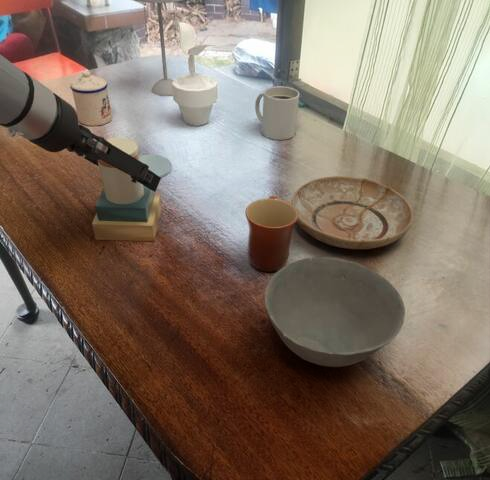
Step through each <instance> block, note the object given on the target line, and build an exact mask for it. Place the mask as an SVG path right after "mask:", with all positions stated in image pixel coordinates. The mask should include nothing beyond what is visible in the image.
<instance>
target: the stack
mask: <svg viewBox="0 0 490 480" xmlns="http://www.w3.org/2000/svg"><path fill="white" fill-rule="evenodd" d="M144 191H145V194H144V196H143V198H142V199H140V200H139V201H137V202H134V203H131V204H114V203H111V202H109V201H108V200H107V199H106V197H105V193H104V189H103V188H102V190H101V192H100V194H99V197H98V199H97V201H96V204H95V206H94V208H95V212H96V213H95V215H94V218H93V220H92V223H91V227H92V230H93V234H94V238H95V240H97V241H127V242H128V241H129V242H130V241H131V242H155V241H156V237H157V232H158V229H159V225H160V220H161V215H162V213H163V205H162V196H161V193H155V192H154V191H152V190H150V189H149V188H147V187H145V186H144Z"/></svg>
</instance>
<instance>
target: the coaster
mask: <svg viewBox="0 0 490 480" xmlns="http://www.w3.org/2000/svg"><path fill="white" fill-rule="evenodd" d="M139 155H140V162H142V163H144V164H147V166H149V170H150V171H152V172H153V173H155V174H156V175H158V176H159V177H161V179H162V178H164V177H166V176H167V175H169V174H170V173H171V172H172V171H173V170H172V169H173V164H172V162H171V160H170V159H169V158H167V157H165V156H163V155H159V154H139Z"/></svg>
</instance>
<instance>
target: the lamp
mask: <svg viewBox="0 0 490 480" xmlns="http://www.w3.org/2000/svg"><path fill="white" fill-rule="evenodd" d="M133 1H135V2H138V3H139V2H140V3H143V5H145V3H147V4H156V5H157V6H156V8H157V18H158V19H157V20H158V29H159V30H158V31H159V39H160V41H159V42H160V50H161V62H162V73H163V78H160V79H158V80H157V81H155V82H154V83H153V85H152V86H151V88H150V91H151V93H152V94H154V95H157V96H161V97H164V96H165V97H169V96H173V89H172V83H173V80H174V79H171V78H168V68H167V57H166V46H165V45H166V44H165V36H164V35H165V34H164V23H163V12H162V4H170V3H172V8H173V11H175V4H174V3H178V2H182V1H184V0H133ZM143 10H144V11H143V12H144V13H146V8H145V6H143ZM146 16H147V15H144V21H147V17H146ZM174 21H175V14H173V22H174ZM147 26H148V25H147V23H145V29H146V30H148V27H147ZM177 36H178V33H177V30H174V34H173V37H174V38H177ZM145 37H147V38H149V34H148V32H146V34H145Z"/></svg>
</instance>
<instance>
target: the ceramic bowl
mask: <svg viewBox="0 0 490 480" xmlns="http://www.w3.org/2000/svg"><path fill="white" fill-rule="evenodd" d="M290 204H291V205H293V206H294V207H295V208H296V209H297V211H298V219H297V221H296V223H297V224H298V226H299V227H300V228H301V229H302V230H303V231H304V232H305V233H307V234H308V235H309V236H311V237H312V238H314V239H316V240H318V241H320V242H322V243H324V244H327V245H330V246H332V247H333V246H334V247H337V248H340V249H341V248H342V249H349V250H371V249H376V248H380V247H381V248H382V247H384V246H388V245H390V244H392V243H394V242H396V241H398V240H399V239H400V238H402V237H403V236H404V235H405V234H407V232H408V231H409V230H410V228H411V227H412V225H413V224H412V223H413V221H414V212H413V208H412V206H411V204H410V203H409V201H408V200H407V199H406V198H405V197H404V196H403V195H402V194H401V193H399V192H398V191H396V190H395V189H393V188H392V187H390V186H388V185H385V184H383V183H380V182H377V181H375V180H371V179H367V178H362V177H356V176H344V175H343V176H341V175H338V176H335V175H333V176H326V177H320V178H316V179H313V180H310V181H308V182H306V183H304V184H303V185H301V186H300V187H299V188H297V189H296V191H295V192H294V193H293V195H292V198H291V202H290Z"/></svg>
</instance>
